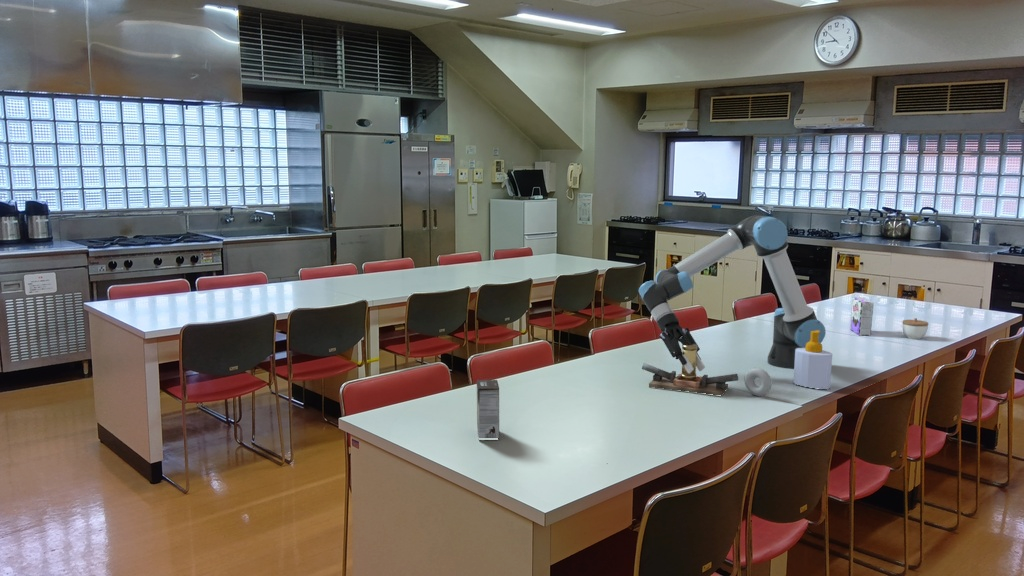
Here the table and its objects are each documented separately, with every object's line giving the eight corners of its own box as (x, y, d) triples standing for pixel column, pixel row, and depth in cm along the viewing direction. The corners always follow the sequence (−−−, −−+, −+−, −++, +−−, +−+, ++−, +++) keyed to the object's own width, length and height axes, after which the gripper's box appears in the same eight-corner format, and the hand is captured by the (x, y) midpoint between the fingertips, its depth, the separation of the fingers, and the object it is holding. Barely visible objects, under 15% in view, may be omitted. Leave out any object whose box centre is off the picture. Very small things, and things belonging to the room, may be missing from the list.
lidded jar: (931, 340, 347) (933, 320, 345) (908, 340, 347) (909, 320, 345) (919, 335, 357) (921, 316, 356) (897, 335, 357) (898, 316, 356)
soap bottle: (834, 387, 273) (837, 332, 270) (825, 392, 267) (829, 336, 264) (798, 380, 282) (801, 327, 278) (789, 384, 276) (792, 331, 273)
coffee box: (476, 430, 228) (476, 379, 226) (497, 430, 229) (497, 379, 226) (477, 441, 219) (477, 388, 217) (499, 440, 220) (499, 387, 217)
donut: (772, 397, 260) (774, 370, 259) (767, 399, 258) (769, 371, 256) (747, 391, 268) (748, 364, 266) (741, 393, 265) (743, 366, 264)
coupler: (697, 376, 273) (699, 344, 271) (694, 380, 268) (695, 347, 266) (683, 374, 275) (684, 342, 274) (679, 378, 271) (680, 345, 269)
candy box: (849, 329, 370) (852, 296, 368) (862, 330, 369) (864, 297, 367) (858, 335, 357) (860, 301, 354) (871, 336, 356) (874, 302, 353)
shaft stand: (740, 389, 270) (741, 369, 269) (734, 398, 259) (735, 378, 258) (646, 377, 285) (647, 359, 284) (637, 385, 275) (637, 366, 274)
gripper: (676, 321, 287) (708, 372, 276) (642, 326, 277) (673, 379, 266) (687, 309, 281) (720, 361, 270) (652, 314, 272) (684, 368, 261)
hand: (696, 370), depth 268 cm, fingers closed on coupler, 5 cm apart
